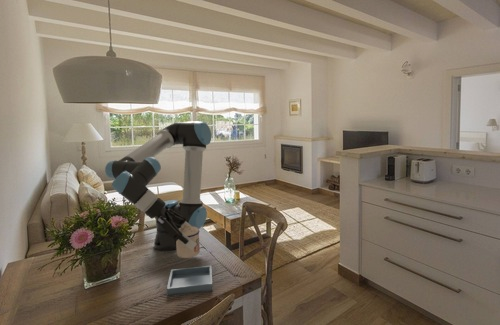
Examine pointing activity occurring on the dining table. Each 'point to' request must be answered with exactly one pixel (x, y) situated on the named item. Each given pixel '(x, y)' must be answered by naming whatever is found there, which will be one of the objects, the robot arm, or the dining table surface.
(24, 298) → the dining table surface
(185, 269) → the slate tray
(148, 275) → the dining table surface
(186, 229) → the teacup with lid
